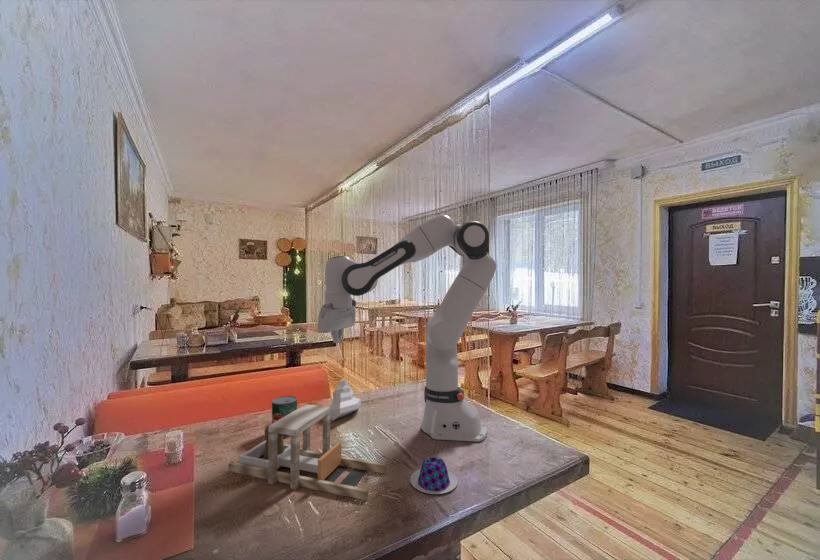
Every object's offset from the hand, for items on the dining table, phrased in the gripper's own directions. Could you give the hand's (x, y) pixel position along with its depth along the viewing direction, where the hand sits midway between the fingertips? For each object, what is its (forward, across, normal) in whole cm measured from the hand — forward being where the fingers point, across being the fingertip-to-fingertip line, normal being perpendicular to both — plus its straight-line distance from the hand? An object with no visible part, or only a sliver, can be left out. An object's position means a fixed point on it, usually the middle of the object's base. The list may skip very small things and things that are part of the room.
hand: (337, 342), depth 122 cm
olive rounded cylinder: (+29, -28, +4) cm, 41 cm away
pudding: (+30, -22, -40) cm, 54 cm away
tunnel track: (+29, -28, -7) cm, 41 cm away
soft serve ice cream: (+29, +10, +3) cm, 31 cm away
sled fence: (+29, -28, -2) cm, 40 cm away
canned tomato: (+29, -10, +14) cm, 34 cm away
